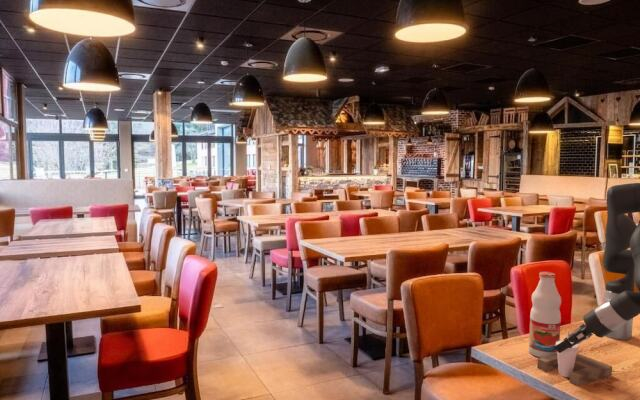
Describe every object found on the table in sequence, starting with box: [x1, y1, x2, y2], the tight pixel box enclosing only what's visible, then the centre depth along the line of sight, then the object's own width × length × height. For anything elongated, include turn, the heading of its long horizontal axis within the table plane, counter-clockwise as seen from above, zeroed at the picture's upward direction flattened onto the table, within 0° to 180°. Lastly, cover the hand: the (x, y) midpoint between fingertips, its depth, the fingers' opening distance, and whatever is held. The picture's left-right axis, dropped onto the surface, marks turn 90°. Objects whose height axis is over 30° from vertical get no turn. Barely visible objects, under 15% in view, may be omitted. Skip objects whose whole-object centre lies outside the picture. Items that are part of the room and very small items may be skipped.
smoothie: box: [556, 330, 579, 378], centre depth 151 cm, size 6×6×14 cm
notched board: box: [536, 352, 613, 387], centre depth 153 cm, size 16×14×3 cm
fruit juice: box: [528, 271, 562, 358], centre depth 166 cm, size 9×9×28 cm
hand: (561, 346), depth 151 cm, fingers open, 8 cm apart
